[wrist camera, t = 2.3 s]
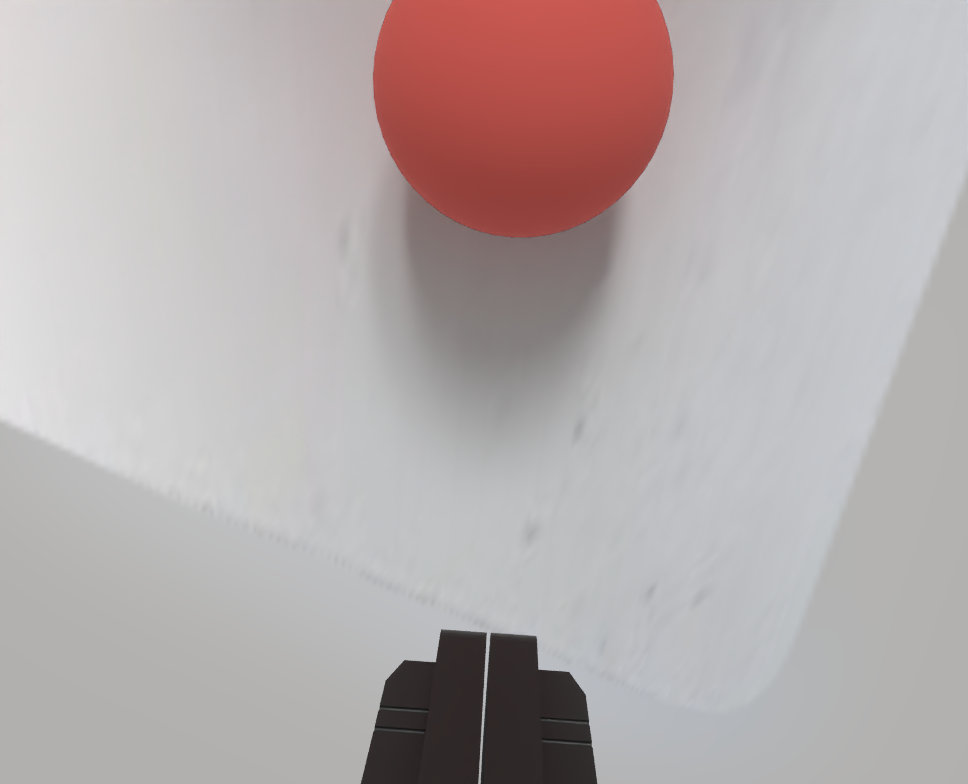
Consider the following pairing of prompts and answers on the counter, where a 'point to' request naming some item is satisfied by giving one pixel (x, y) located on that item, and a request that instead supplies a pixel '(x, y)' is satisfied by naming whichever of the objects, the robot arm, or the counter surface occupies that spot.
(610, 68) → the ball
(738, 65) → the counter surface
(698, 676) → the counter surface
